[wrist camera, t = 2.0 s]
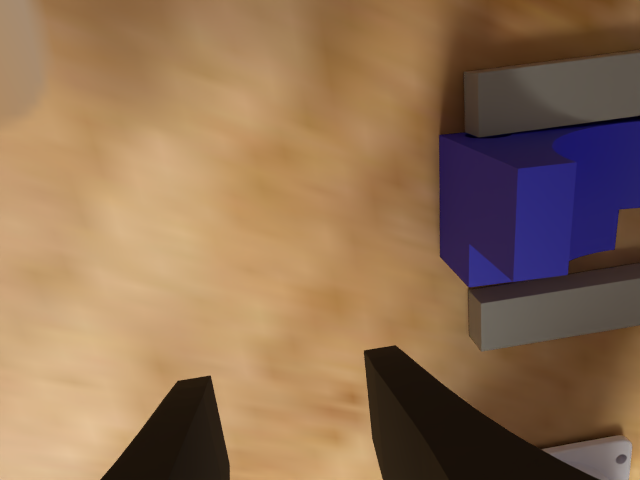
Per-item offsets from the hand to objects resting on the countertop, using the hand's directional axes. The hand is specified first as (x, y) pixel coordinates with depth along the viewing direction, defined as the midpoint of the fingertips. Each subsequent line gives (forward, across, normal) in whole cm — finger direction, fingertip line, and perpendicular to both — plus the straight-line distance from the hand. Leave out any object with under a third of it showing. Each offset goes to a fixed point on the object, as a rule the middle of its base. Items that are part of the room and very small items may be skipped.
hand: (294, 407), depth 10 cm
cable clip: (+10, -12, -1) cm, 16 cm away
